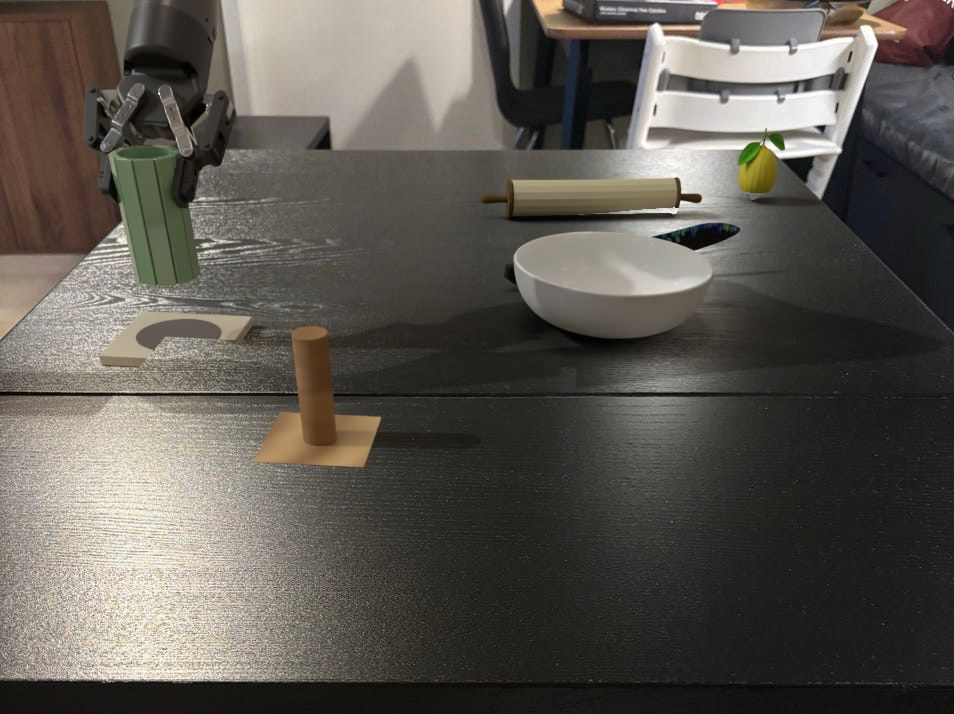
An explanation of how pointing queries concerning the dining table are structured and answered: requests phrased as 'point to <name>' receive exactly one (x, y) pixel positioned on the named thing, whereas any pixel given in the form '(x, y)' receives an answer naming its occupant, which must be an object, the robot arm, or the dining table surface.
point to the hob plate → (170, 334)
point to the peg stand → (317, 414)
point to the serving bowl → (611, 282)
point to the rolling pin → (589, 196)
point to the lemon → (759, 165)
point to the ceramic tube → (154, 215)
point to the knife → (678, 239)
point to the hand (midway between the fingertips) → (144, 200)
